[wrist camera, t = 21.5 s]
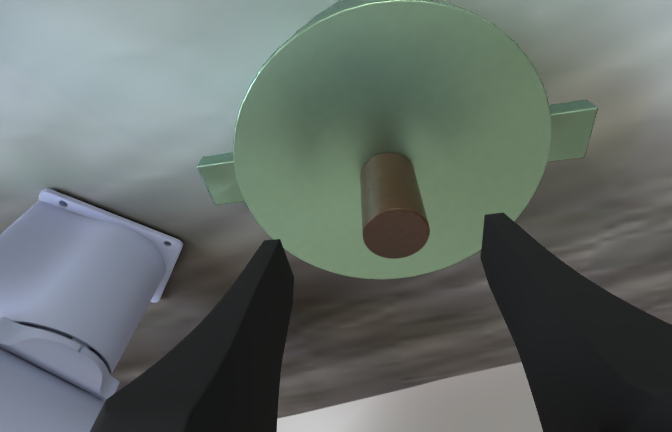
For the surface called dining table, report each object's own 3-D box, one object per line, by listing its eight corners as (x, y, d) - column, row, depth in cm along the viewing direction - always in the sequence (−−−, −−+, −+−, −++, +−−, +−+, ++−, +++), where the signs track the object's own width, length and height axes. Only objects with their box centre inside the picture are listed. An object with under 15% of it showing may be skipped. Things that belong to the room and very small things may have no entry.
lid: (188, 32, 14) (123, 76, 10) (572, -43, 12) (682, -27, 8) (282, 276, 22) (268, 353, 18) (519, 252, 20) (560, 331, 16)
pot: (185, 29, 18) (135, 61, 14) (571, -48, 16) (652, -37, 12) (260, 222, 26) (243, 281, 22) (529, 190, 24) (569, 248, 19)
